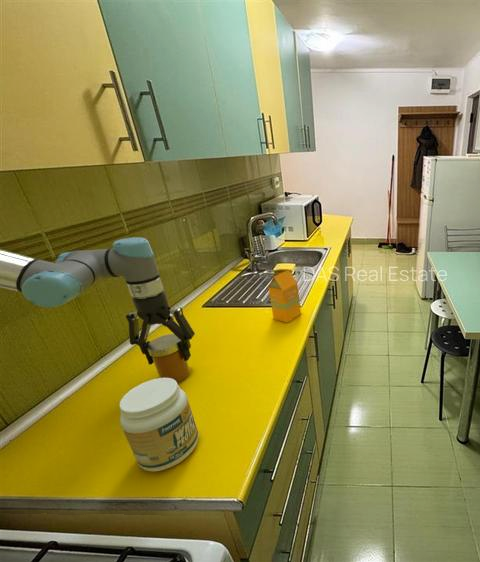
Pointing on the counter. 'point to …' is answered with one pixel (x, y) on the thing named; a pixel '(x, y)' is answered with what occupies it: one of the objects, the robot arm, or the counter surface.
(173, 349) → the lid
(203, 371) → the counter surface
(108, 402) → the counter surface
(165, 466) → the supplement tub
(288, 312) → the orange juice
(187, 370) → the jar
